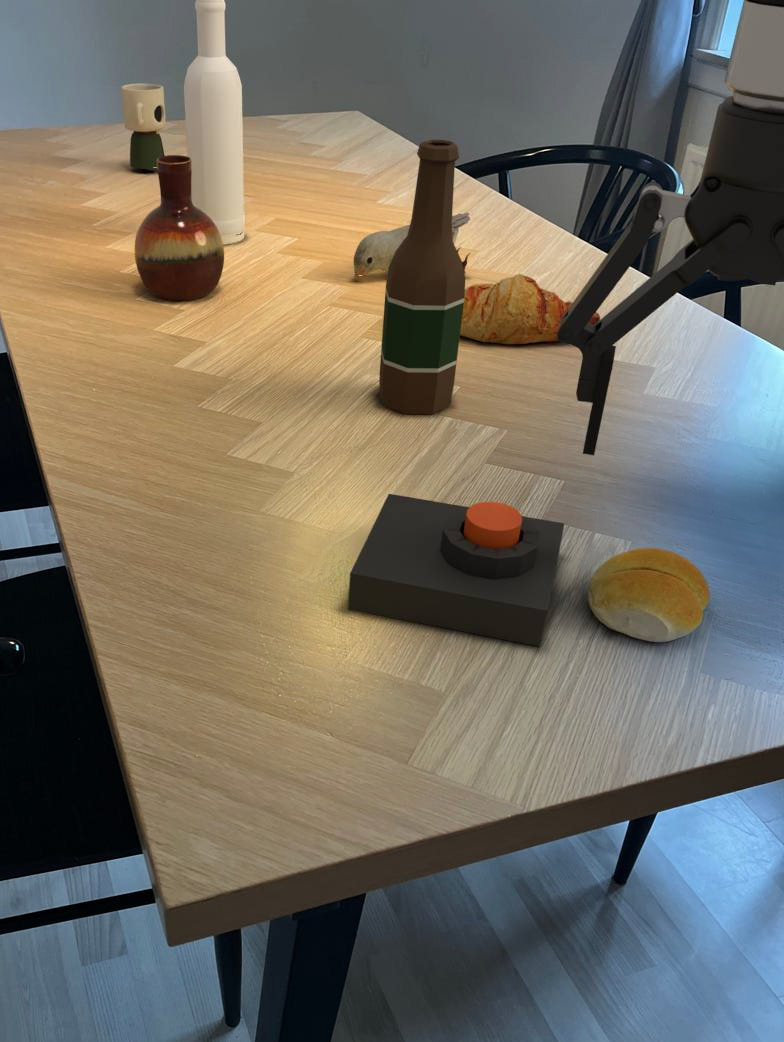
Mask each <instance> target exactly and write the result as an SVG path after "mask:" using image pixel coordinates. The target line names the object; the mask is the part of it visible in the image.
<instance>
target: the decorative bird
mask: <svg viewBox="0 0 784 1042" xmlns="http://www.w3.org/2000/svg"><path fill="white" fill-rule="evenodd" d="M469 221H471V218H470V212H464V213H457V214H455V215H453V214H452V237H453V243H454V245H455V244H456V241H457V238H458V235H459V231H460V228H461V227H463V226H465V225H467V224H468V223H469ZM409 227H410V224H407V225H404V226H400V227H397V228H394V229H392V230H380V231H376V232H373V233H370V234H368V235H367V236H365V237H364V238H363V239H362V240H361V241H360V242H359V244H358V245H357V247H356V249H355V252H354V255H353V274H354V273H355V274H354V279H355V282H358V281H360V280H362V279H363V278H365V277H366V276H367V275H368V274H369V273H371V272H373V271H376V270H377V271H378V270H380V271H382V272H384V271H385V272H384V273H386V274H388V268H389V265H390V263H391V261H392V258H393V256H394V254H395V251H396V250H397V249H398V247H399V246H400V245H401V243H402V242H403V241H404V239H405V238H406V237H407V235H408V231H409ZM461 248H462V246H460V247H458V248H457V249H456V250H457V252H458V253H459V250H461ZM470 254H471V252H469V253H468V254H467V255H466V256H465V258H464V260H463V261H462V265H463V270H464V274H466V271H465V270H466V267H467V265H468V257H469V256H470ZM366 274H367V275H366ZM359 275H362V276H359Z"/></svg>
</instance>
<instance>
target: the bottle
mask: <svg viewBox="0 0 784 1042" xmlns="http://www.w3.org/2000/svg"><path fill="white" fill-rule="evenodd" d="M226 8H227V7H226V1H225V0H195V2H194V9H195V11H196V12H195V13H196V14H195V15H196V34H197V35H196V36H197V39H196V40H197V56H196V57H195V58H194V59H193V61H192V62H190V63H191V64H189V66H188V67H187V70H186V73H185V78H184V84H183V99H184V100H183V101H184V118H185V119H184V120H185V121H184V122H185V137H186V139H185V140H186V156H187V157H189V158H191V160H192V176H191V192H192V202H193V205H194V206H196V207H198V208H200V209H201V210H202V211H204V212H205V213H206V214H207V215H208V216H209V217H210V218H211V219H212V220H213V222H214V223H215V225H216V226H217V228H218V230H219V232H220V234H221V237H228V236H234V235H236V234H240V233H241V232H242V231H244V232H243V233H242V234H241V235H238V236H234V237H229V238H222V241H223V246H227V245H232V244H236V243H239V242H241V241H242V240H244V238H245V226H246V216H245V194H244V193H245V190H244V189H245V187H244V186H245V185H244V139H243V138H244V134H243V133H244V131H243V129H244V128H243V85H242V82H241V78H240V74H239V71H238V68H237V67H236V65H235V64H234V63H233V62H232V61H231V59H229V57H228V56H227V55H226V52H227V51H226V20H225V19H226V17H225V14H226V13H225V11H226Z"/></svg>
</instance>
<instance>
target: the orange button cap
mask: <svg viewBox="0 0 784 1042" xmlns="http://www.w3.org/2000/svg"><path fill="white" fill-rule="evenodd" d="M469 507H470V508H469V509H468V510H467V512H466V519H465V526H464V537H465V539H466V540H468V541H470V542H472V543H474V544H476V545H478V546H482V547H488V548H494V549H500V548H509V547H513V546H514V545H516V544H517V542H518V540H519V535H520V529H521V524H522V516H523V515H522V513H520V511H519V510H518V509H516V508H514V507H513V506H511V505H509V504H506V503H503V502H496V501H481V502H477V503H474V504H472V505H470V506H469Z"/></svg>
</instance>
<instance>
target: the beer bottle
mask: <svg viewBox="0 0 784 1042" xmlns="http://www.w3.org/2000/svg"><path fill="white" fill-rule="evenodd" d="M416 155H417V156H418V158H419V164H418V170H417V176H416V177H417V178H416V184H415V191H414V193H415V194H414V198H413V199H414V200H413V205H412V212H411V219H410V222H409V225H410V227H409V231H408V235H407V237H406V238H405V239H404V241H403V242H402V243H401V245H400V246H399V247H398V249H397V250H396V251H395V254H394V256H393V258H392V261H391V263H390V265H389V268H388V273H387V276H386V282H385V291H384V292H385V293H384V304H383V317H382V318H383V320H382V333H381V347H380V348H381V349H380V360H379V361H380V362H379V377H378V378H379V380H378V381H379V384H378V385H379V386H378V387H379V390H378V391H379V395H380V400H381V404H382V406H383V407H385V408H389V409H391V410H394V411H395V412H399V413H401V414H403V415H433V414H435V413H438V412H440V411H441V410H443V409H445V408H447V407H449V406H450V404H451V402H452V398H453V393H454V392H453V391H454V387H455V378H456V370H457V364H458V363H457V362H458V354H459V346H460V345H459V344H460V339H461V338H460V337H461V335H460V330H461V322H462V314H463V306H464V297H465V289H466V273H464V270H463V265H462V262H463V261H462V258H461V255H460V254H459V251H458V252H457V250H458V249H457V247H456V245H455V244H454V243H453V237H452V215H453V209H454V208H453V207H454V188H455V187H454V186H455V170H456V169H455V167H456V166H455V165H456V161H458V160H459V159H460V155H459V148H458V146H457V144H456V143H455V142H453V141H450V140H445V139H429V140H424V141H422V142H420V143H419V146H418V149H417V152H416Z"/></svg>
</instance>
